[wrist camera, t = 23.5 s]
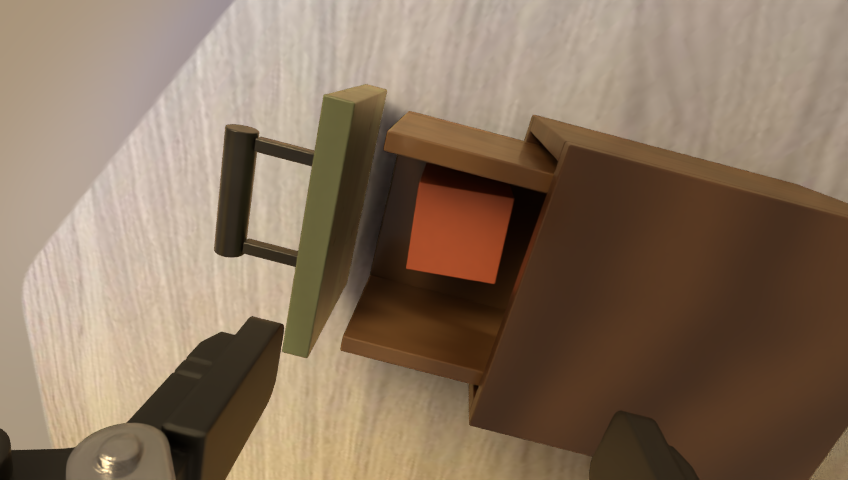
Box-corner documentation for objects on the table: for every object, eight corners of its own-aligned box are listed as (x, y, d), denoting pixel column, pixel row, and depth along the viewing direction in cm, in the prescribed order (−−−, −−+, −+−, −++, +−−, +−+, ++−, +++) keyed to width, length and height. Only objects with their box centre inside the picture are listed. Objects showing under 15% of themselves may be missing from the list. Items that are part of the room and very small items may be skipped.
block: (414, 237, 26) (405, 269, 22) (426, 162, 25) (418, 182, 21) (490, 251, 26) (495, 284, 22) (507, 176, 25) (515, 198, 21)
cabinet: (467, 315, 30) (468, 425, 21) (532, 114, 25) (569, 144, 16) (692, 373, 30) (789, 507, 21) (797, 184, 25) (978, 252, 16)
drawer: (251, 258, 29) (178, 326, 21) (275, 60, 24) (195, 60, 17) (545, 334, 29) (572, 427, 22) (618, 150, 25) (683, 188, 17)
